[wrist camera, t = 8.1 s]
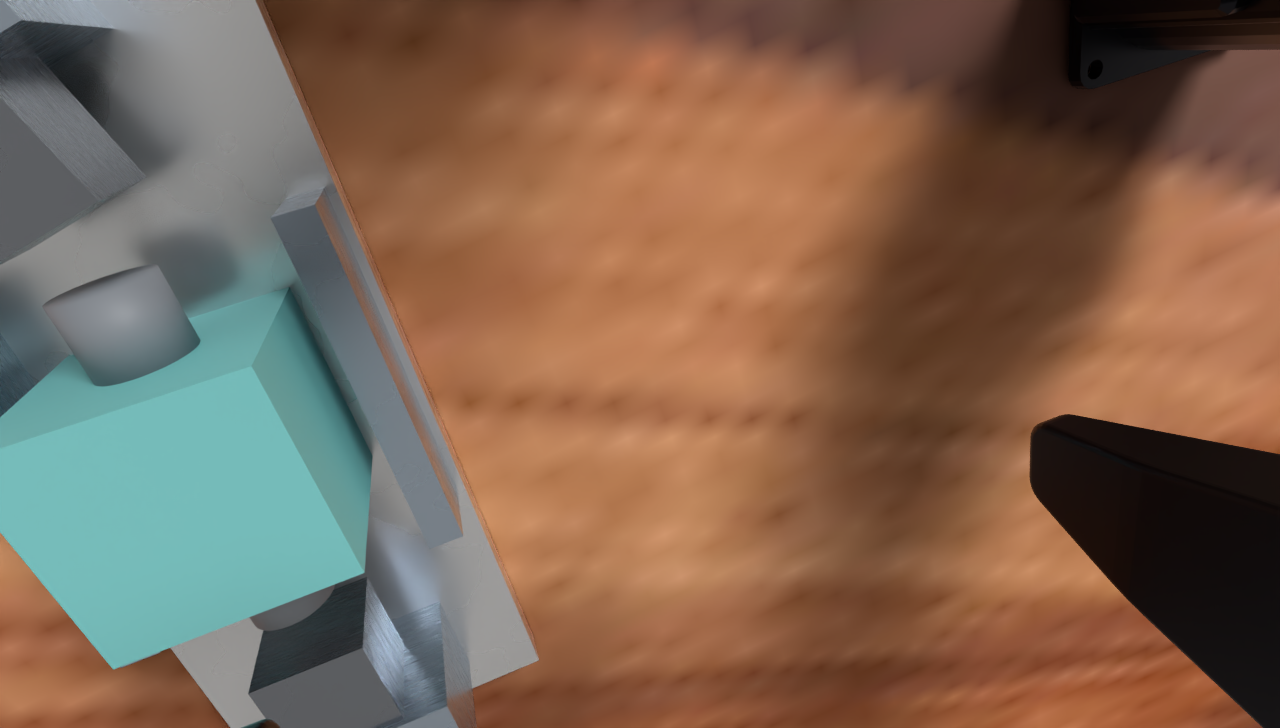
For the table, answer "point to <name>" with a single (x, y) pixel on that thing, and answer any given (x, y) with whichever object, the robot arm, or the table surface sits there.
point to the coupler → (183, 468)
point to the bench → (228, 274)
